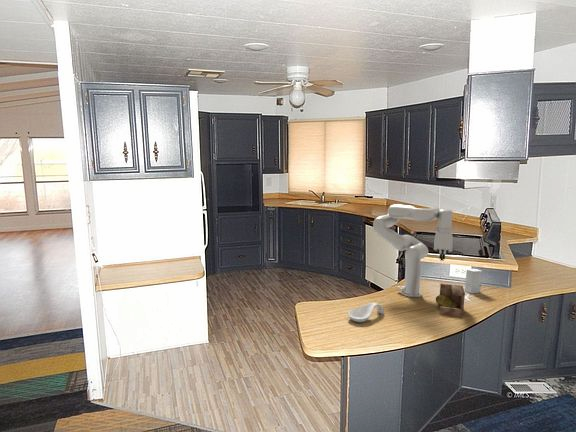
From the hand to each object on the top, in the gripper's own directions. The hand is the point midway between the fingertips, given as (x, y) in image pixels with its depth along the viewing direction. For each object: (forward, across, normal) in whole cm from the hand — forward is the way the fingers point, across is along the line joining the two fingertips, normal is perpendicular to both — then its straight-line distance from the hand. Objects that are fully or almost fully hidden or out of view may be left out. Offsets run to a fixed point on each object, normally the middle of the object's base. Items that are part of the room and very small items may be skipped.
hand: (442, 260), depth 252 cm
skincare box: (+26, +19, +30) cm, 44 cm away
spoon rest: (+26, -35, -44) cm, 62 cm away
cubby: (+26, +7, -13) cm, 30 cm away
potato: (+26, +5, -12) cm, 29 cm away
